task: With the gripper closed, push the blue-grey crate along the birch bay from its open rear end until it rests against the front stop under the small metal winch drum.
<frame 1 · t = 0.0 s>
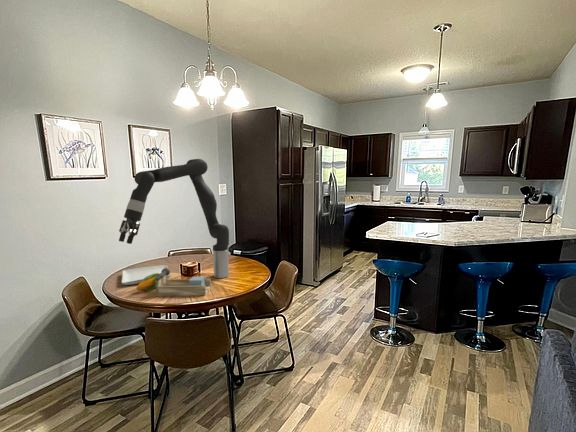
hand: (124, 242, 147), 31 cm above the table, tool tilted 20°, fingers open, 8 cm apart
square plate: (146, 278, 194), on the table
bay: (184, 291, 169), on the table
corn: (151, 288, 175), on the table
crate: (197, 283, 168), point 4 cm above the table, slide at 0.0 cm
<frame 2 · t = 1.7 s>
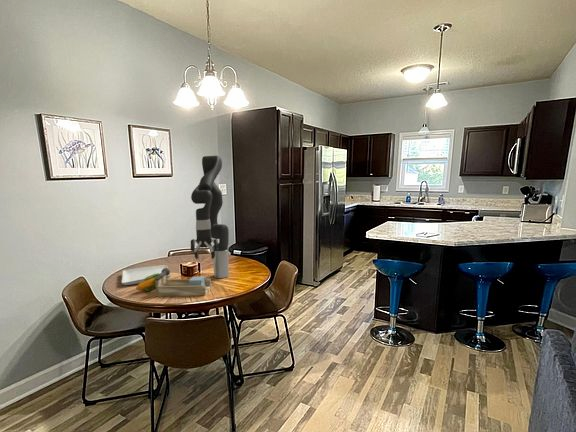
hand: (205, 258, 162), 19 cm above the table, tool pointing down, fingers open, 8 cm apart
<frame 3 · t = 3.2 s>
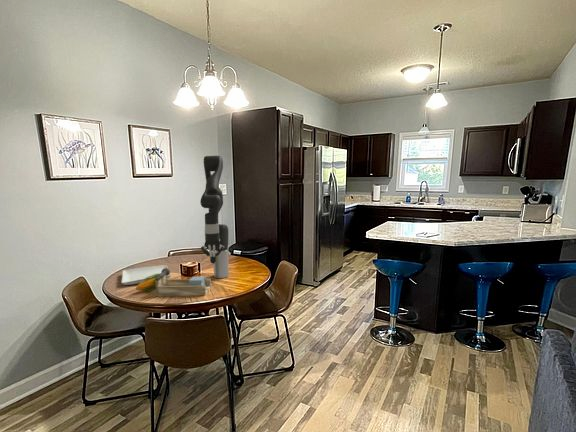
hand: (213, 263, 167), 16 cm above the table, tool pointing down, fingers closed
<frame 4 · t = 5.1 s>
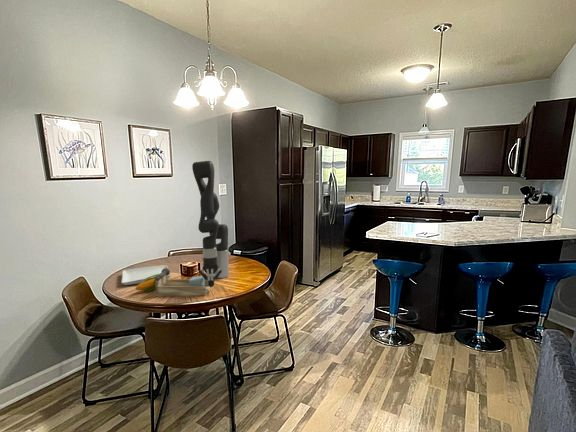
hand: (211, 286, 169), 3 cm above the table, tool pointing down, fingers closed
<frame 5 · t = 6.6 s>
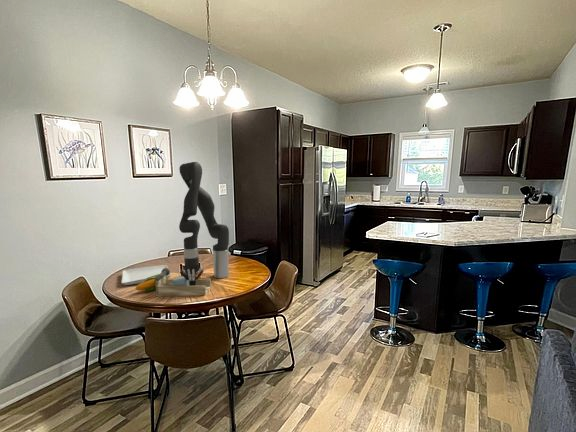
hand: (192, 286, 169), 3 cm above the table, tool pointing down, fingers closed
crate: (181, 283, 168), point 4 cm above the table, slide at 8.8 cm, touching hand
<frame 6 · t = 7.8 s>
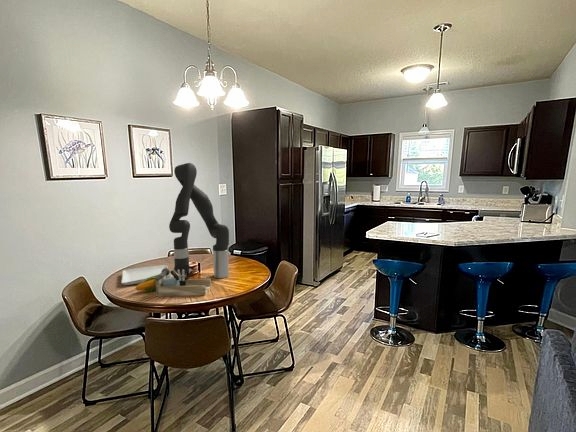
hand: (183, 287, 168), 3 cm above the table, tool pointing down, fingers closed
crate: (171, 284, 168), point 4 cm above the table, slide at 14.1 cm, touching hand
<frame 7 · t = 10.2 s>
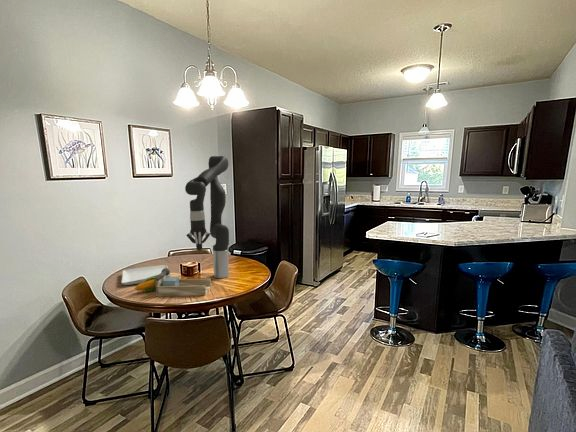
hand: (199, 250, 167), 23 cm above the table, tool pointing down, fingers closed
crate: (171, 284, 168), point 4 cm above the table, slide at 14.2 cm
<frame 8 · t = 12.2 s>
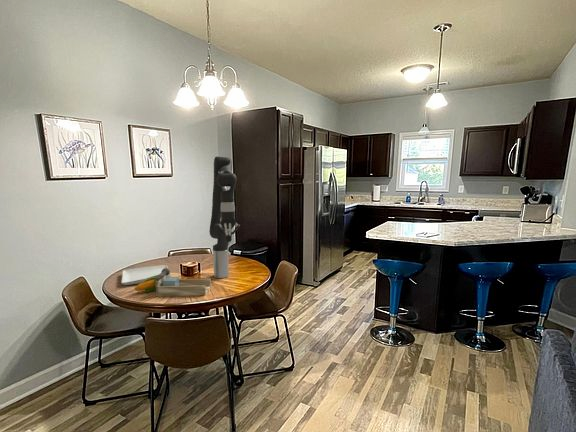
hand: (229, 241, 168), 27 cm above the table, tool pointing down, fingers closed
at the end: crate slide at 14.2 cm; the gripper is holding nothing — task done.
